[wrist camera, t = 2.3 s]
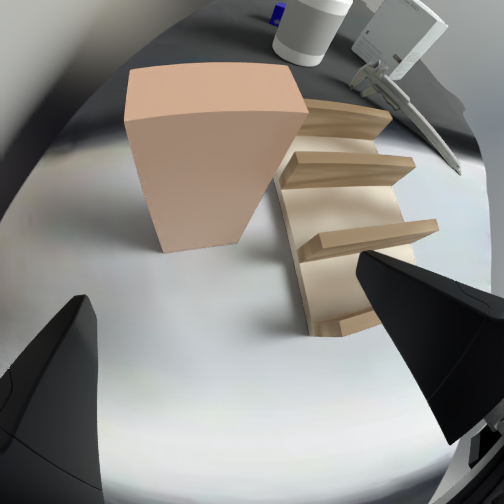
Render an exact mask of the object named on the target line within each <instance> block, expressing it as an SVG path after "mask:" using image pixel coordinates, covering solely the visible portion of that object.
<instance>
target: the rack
mask: <svg viewBox="0 0 504 504" xmlns="http://www.w3.org/2000/svg"><path fill="white" fill-rule="evenodd" d="M303 100H304V102H305V105H306V107H307V109H308V112H309V114H308V115H307V117H306V119H305V121H304V122H303V124H302V126H301V128H300V130H299V131H298V133H297V135H296V137H295V139H294V140H293V142H292V144H291V146H290V148H289V149H288V151H287V153H286V155H285V157H284V158H283V160H282V162H281V164H280V166H279V167H278V169H277V171H276V173H275V175H274V177H273V179H274V183H275V187H276V191H277V195H278V199H279V202H280V206H281V210H282V215H283V219H284V223H285V227H286V231H287V235H288V239H289V244H290V248H291V252H292V257H293V261H294V265H295V270H296V274H297V279H298V283H299V288H300V292H301V297H302V302H303V307H304V311H305V316H306V321H307V326H308V331H309V336H314V337H344V336H347V335H350V334H353V333H356V332H359V331H362V330H365V329H368V328H371V327H374V326H376V325H379V324H382V323H381V321H380V320H379V318H378V317H377V315H376V313H375V312H374V310H373V308H372V306H371V304H370V302H369V300H368V298H367V297H366V295H365V293H364V291H363V289H362V287H361V285H360V283H359V281H358V279H357V277H356V273H355V271H356V267H357V262H358V258H359V254H360V253H361V252H362V251H366V250H374V251H376V252H379V253H382V254H385V255H388V256H391V257H393V258H396V259H399V260H402V261H405V262H407V263H410V264H413V265H415V266H417V265H416V261H415V257H414V254H413V250H412V246H411V243H413V242H415V241H417V240H419V239H421V238H424V237H426V236H428V235H430V234H432V233H434V232H436V231H438V230H439V227H438V224H437V221H436V219H431V220H422V221H413V222H404V220H403V217H402V214H401V211H400V208H399V205H398V202H397V199H396V197H395V194H394V191H393V188H392V185H394V184H395V183H396V182H398V181H399V180H400V179H401V178H403V177H404V176H405V175H407V174H408V173H409V172H410V171H412V170H413V169H414V168H415V167H416V166H415V163H414V161H413V159H412V157H402V156H392V155H380V154H378V151H377V149H376V147H375V145H374V143H373V140H374V139H375V138H376V137H377V135H378V134H379V133H380V132H381V131H382V130H383V129H384V128H385V127H386V126H387V125H388V124H389V123H390V121H391V120H392V119H393V118H392V117H391V115H390V113H389V111H385V110H380V109H374V108H369V107H364V106H358V105H351V104H345V103H338V102H330V101H321V100H312V99H303Z"/></svg>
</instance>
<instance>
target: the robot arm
mask: <svg viewBox="0 0 504 504" xmlns="http://www.w3.org/2000/svg"><path fill="white" fill-rule="evenodd" d="M355 273H356V277H357V279H358V281H359V283H360V285H361V287H362V289H363V291H364V293H365V295H366V297H367V298H368V300H369V302H370V304H371V306H372V308H373V310H374V312H375V313H376V315H377V317H378V318H379V320H380V321H381V323H382V324H383V326H384V328H385V329H386V331H387V333H388V334H389V336H390V337H391V339H392V341H393V342H394V344H395V346H396V347H397V349H398V351H399V352H400V354H401V356H402V357H403V359H404V361H405V363H406V364H407V366H408V368H409V370H410V371H411V373H412V375H413V377H414V378H415V380H416V382H417V384H418V386H419V387H420V389H421V391H422V393H423V395H424V397H425V398H426V400H427V403H428V404H429V406H430V408H431V410H432V412H433V414H434V416H435V418H436V420H437V422H438V424H439V426H440V428H441V430H442V432H443V434H444V436H445V438H446V440H447V442H448V444H449V445H452V444H453V443H454V442H455V441H457V440H458V439H459V438H461V437H462V436H463V435H464V434H466V433H467V432H468V431H469V430H470V429H472V428H473V427H474V426H475V425H476V424H477V423H478V422H480V421H481V420H482V419H484V420H485V422H486V424H485V425H484V426H483V427H482V428H481V429H480V430H479V431H478V432H477V433H476V434H475V435H474V436H473V437H472V438H471V447H470V456H469V463H468V464H469V467H470V468H471V471H470V472H469V473H467V475H466V476H464V477H463V479H461V480H460V481H459V482H458V483H457V484H456V485H455V486H454V487H452V488H451V489H450V490H449V491H448V492H447V493H445V494H444V495H443V496H442V497H441V498H439V499H438V500H437V501H436V502H434V503H433V504H504V298H501V297H498V296H495V295H492V294H490V293H487V292H484V291H481V290H478V289H476V288H473V287H470V286H468V285H465V284H463V283H460V282H457V281H454V280H452V279H450V278H447V277H445V276H442V275H439V274H437V273H434V272H431V271H429V270H426V269H423V268H421V267H418V266H415V265H413V264H410V263H407V262H405V261H402V260H399V259H396V258H393V257H391V256H388V255H385V254H382V253H379V252H376V251H374V250H366V251H362V252H361V253H360V254H359V258H358V262H357V267H356V271H355ZM97 381H98V348H97V318H96V314H95V312H94V310H93V307H92V305H91V302H90V300H89V298H88V296H87V295H85V294H84V295H76V296H74V297H73V298H72V299H71V300H70V301H69V302H68V303H67V304H66V305H65V306H64V307H63V308H62V309H61V310H60V311H59V312H58V313H57V314H56V315H55V316H54V317H53V318H52V319H51V320H50V321H49V323H48V324H47V325H46V326H45V327H44V328H43V329H42V330H41V331H40V332H39V333H38V335H37V336H36V337H35V338H34V339H33V340H32V341H31V342H30V344H29V345H28V346H27V347H26V348H25V349H24V351H23V352H22V353H21V354H20V355H19V356H18V358H17V359H16V360H15V361H14V362H13V364H12V365H11V366H10V369H8V370H7V371H6V372H5V374H4V375H3V376H2V377H1V379H0V504H105V502H104V496H103V492H102V483H101V474H100V464H99V452H98V434H97Z"/></svg>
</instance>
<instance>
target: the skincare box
mask: <svg viewBox="0 0 504 504" xmlns="http://www.w3.org/2000/svg"><path fill="white" fill-rule="evenodd" d="M447 28H448V25H447V24H446V23H445V22H444V21H443V20H442V19H441V18H440V17H439V16H437V15H436V14H435V13H434V12H433V11H432V10H431V9H429V8H428V7H427V6H426V5H424V4H423V3H422V2H421V1H419V0H384V1H383V3H382V4H381V6H380V7H379V8H378V10H377V11H376V13H375V14H374V16H373V17H372V18H371V20H370V21H369V23H368V24H367V25H366V27H365V28H364V30H363V31H362V33H361V34H360V35H359V37H358V38H357V40H356V41H355V43H354V44H353V46H352V47H351V48H352V49H351V50H352V51H353V52H354V53H356V54H357V55H358V56H359V57H360V58H362V59H363V60H364V61H365V62H366V63H369V62H371V63H373V64H375V63H376V62H378V61H379V60H380V65H379V68H380V67H388V68H387V71H385V72H384V73H382V74H381V75H384V74H386V75H387V76H388V77H389V78H390V79H391V80H398V79H401V78H402V77H403V76H404V75H405V74H406V73H407V71H408V70H409V69H410V68H411V67H412V66H413V65H414V64H415V63H416V62H417V60H418V59H419V58H420V57H421V56H422V55H423V54H424V53H425V52H426V51H427V50H428V48H429V47H430V46H431V45H432V44H433V43H434V42H435V41H436V40H437V39H438V38H439V36H440V35H441V34H442V33H443V32H444V31H445V30H446V29H447Z"/></svg>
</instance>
